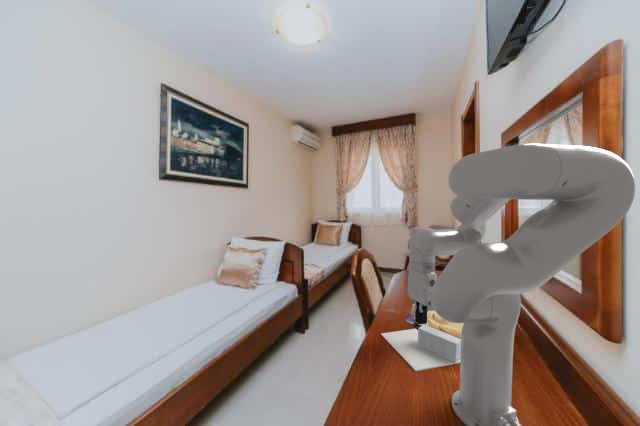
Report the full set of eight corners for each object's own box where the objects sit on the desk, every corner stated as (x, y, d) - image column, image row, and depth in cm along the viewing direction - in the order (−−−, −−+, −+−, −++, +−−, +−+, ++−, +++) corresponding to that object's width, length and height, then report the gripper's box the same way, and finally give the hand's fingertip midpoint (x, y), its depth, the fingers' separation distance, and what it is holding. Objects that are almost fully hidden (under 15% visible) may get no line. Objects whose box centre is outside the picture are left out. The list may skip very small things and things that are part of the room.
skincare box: (423, 340, 84) (461, 358, 74) (417, 345, 81) (455, 364, 72) (424, 323, 83) (462, 339, 74) (417, 327, 81) (456, 344, 71)
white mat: (462, 362, 73) (462, 361, 73) (415, 371, 69) (415, 370, 69) (419, 329, 92) (419, 328, 92) (380, 334, 88) (380, 333, 88)
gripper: (449, 271, 72) (448, 333, 73) (417, 260, 86) (416, 311, 87) (427, 273, 70) (426, 336, 71) (398, 261, 85) (397, 314, 85)
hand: (421, 322), depth 79 cm, fingers closed
